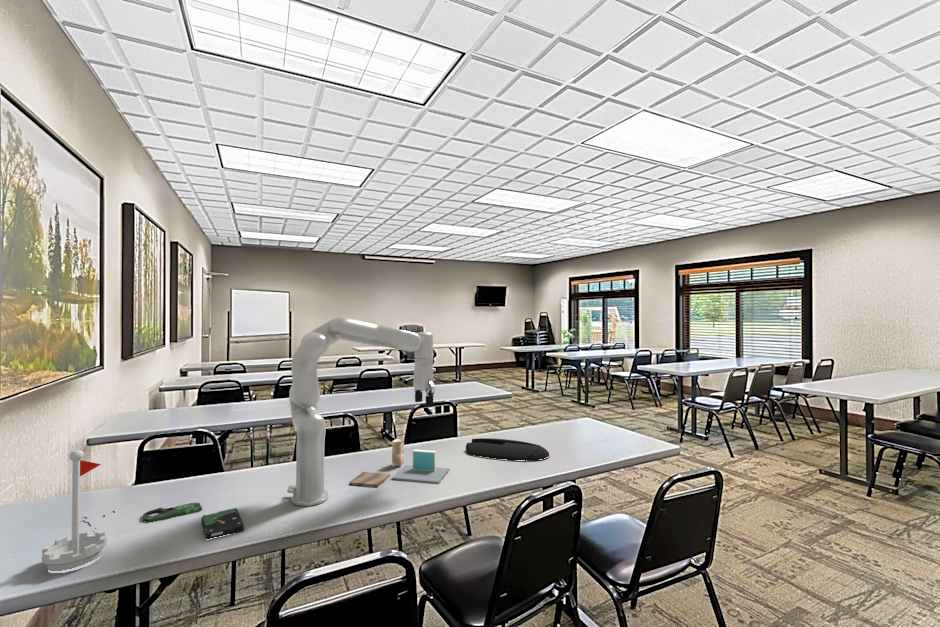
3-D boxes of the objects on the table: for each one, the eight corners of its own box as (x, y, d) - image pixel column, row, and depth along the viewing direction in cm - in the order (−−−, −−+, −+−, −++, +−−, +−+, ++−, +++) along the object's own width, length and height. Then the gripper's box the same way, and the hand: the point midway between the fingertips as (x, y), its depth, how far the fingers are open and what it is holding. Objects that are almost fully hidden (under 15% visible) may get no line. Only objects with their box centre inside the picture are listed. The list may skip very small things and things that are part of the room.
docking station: (544, 466, 199) (544, 455, 199) (459, 456, 213) (459, 445, 213) (553, 450, 223) (553, 440, 223) (476, 442, 236) (476, 433, 236)
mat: (391, 479, 181) (391, 477, 181) (405, 466, 197) (405, 464, 197) (438, 483, 177) (438, 481, 177) (449, 470, 192) (449, 468, 192)
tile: (412, 469, 190) (412, 450, 190) (414, 468, 193) (414, 449, 193) (434, 471, 188) (434, 452, 188) (436, 469, 190) (436, 451, 190)
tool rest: (349, 484, 175) (349, 482, 175) (363, 474, 187) (363, 471, 187) (377, 487, 173) (377, 484, 173) (389, 476, 184) (389, 474, 184)
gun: (199, 498, 159) (202, 508, 151) (199, 502, 159) (202, 512, 151) (142, 510, 149) (142, 521, 141) (142, 514, 149) (142, 526, 141)
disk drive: (244, 533, 137) (236, 515, 149) (244, 524, 137) (236, 506, 149) (205, 543, 131) (200, 523, 143) (206, 533, 131) (200, 515, 143)
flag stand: (44, 582, 110) (45, 461, 111) (39, 563, 119) (40, 450, 119) (111, 561, 120) (112, 449, 120) (101, 544, 129) (102, 440, 129)
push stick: (392, 466, 197) (392, 441, 197) (395, 463, 201) (395, 439, 201) (400, 467, 196) (400, 442, 196) (403, 464, 200) (404, 439, 200)
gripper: (406, 360, 189) (406, 401, 189) (425, 364, 175) (425, 408, 175) (422, 360, 193) (422, 399, 193) (442, 363, 179) (442, 406, 179)
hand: (423, 403), depth 184 cm, fingers open, 9 cm apart
